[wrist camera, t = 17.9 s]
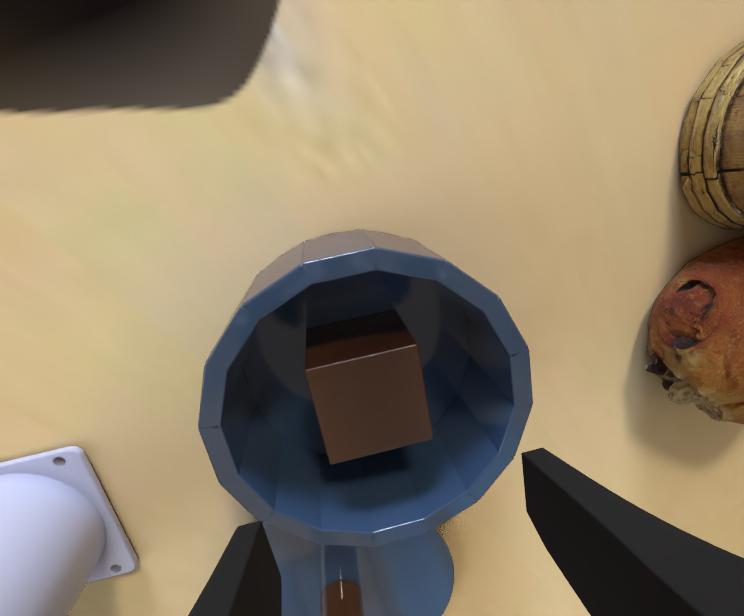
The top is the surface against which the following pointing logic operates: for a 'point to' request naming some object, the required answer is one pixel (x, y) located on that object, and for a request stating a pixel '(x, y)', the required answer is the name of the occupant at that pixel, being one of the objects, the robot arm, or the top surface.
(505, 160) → the top surface
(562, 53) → the top surface
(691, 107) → the wooden mug
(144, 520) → the top surface
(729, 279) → the bread roll
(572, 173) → the top surface
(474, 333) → the bowl
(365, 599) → the bowl lid
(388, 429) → the block
